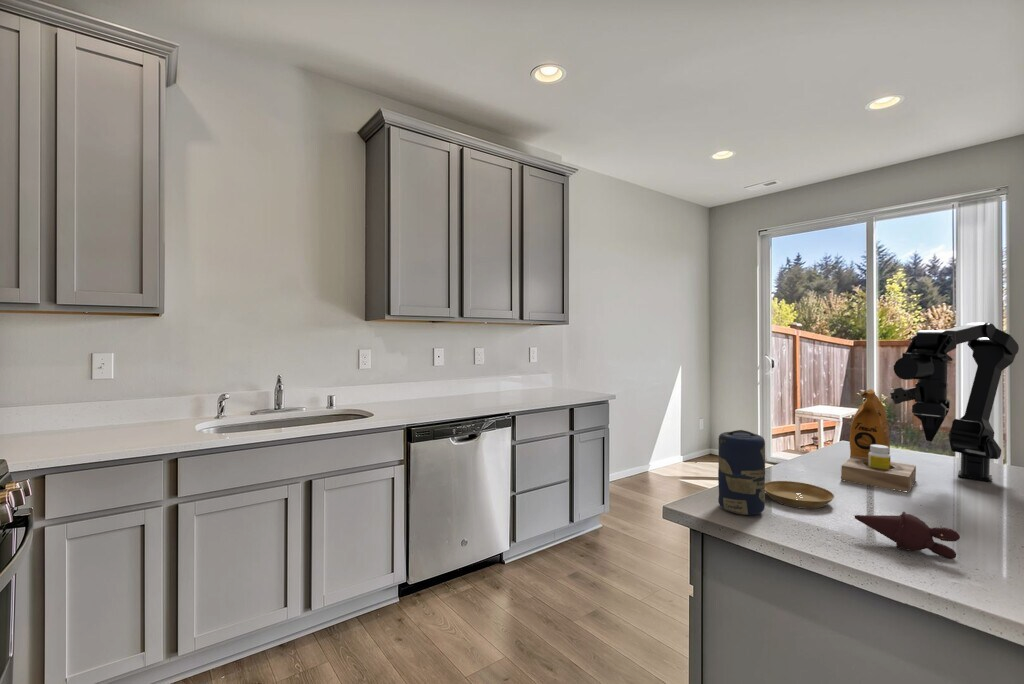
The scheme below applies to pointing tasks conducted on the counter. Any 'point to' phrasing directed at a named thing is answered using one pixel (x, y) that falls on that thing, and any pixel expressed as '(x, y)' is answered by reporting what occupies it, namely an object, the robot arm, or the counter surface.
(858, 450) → the coffee package
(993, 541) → the counter surface
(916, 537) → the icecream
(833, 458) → the counter surface
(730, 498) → the canister
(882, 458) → the supplement bottle
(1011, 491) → the counter surface
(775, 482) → the plant saucer
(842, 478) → the wooden holder block
